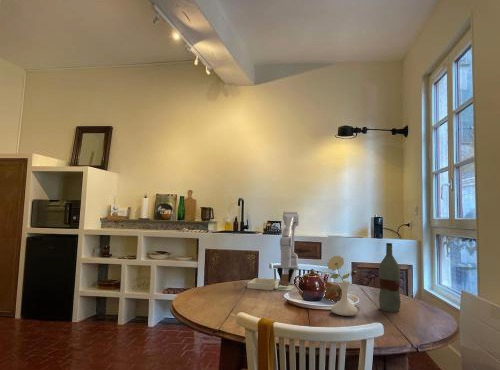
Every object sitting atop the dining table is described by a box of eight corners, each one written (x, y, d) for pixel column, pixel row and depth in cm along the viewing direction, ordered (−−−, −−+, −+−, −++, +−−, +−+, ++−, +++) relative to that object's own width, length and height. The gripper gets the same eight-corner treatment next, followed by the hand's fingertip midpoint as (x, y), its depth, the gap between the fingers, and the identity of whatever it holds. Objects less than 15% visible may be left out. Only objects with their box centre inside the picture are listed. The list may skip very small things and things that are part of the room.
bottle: (387, 312, 161) (386, 244, 163) (374, 307, 169) (374, 242, 172) (405, 311, 163) (404, 244, 165) (392, 306, 172) (391, 242, 174)
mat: (280, 285, 215) (280, 285, 215) (294, 286, 213) (294, 286, 213) (276, 289, 204) (276, 289, 204) (290, 291, 201) (290, 290, 201)
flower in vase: (355, 311, 162) (355, 254, 164) (360, 318, 151) (360, 257, 153) (325, 310, 163) (325, 253, 165) (328, 317, 152) (328, 256, 154)
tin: (319, 296, 189) (319, 280, 190) (324, 296, 190) (324, 280, 191) (338, 303, 175) (338, 285, 176) (343, 303, 177) (343, 285, 177)
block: (282, 284, 211) (282, 273, 211) (289, 284, 209) (289, 274, 210) (281, 285, 207) (281, 274, 207) (288, 286, 206) (288, 275, 206)
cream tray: (255, 283, 222) (255, 278, 222) (278, 285, 217) (278, 279, 217) (247, 288, 207) (247, 282, 207) (272, 290, 202) (272, 284, 203)
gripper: (271, 258, 208) (271, 282, 207) (297, 259, 203) (296, 284, 202) (274, 256, 214) (274, 280, 213) (299, 258, 210) (299, 282, 209)
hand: (285, 282), depth 208 cm, fingers closed on block, 4 cm apart
